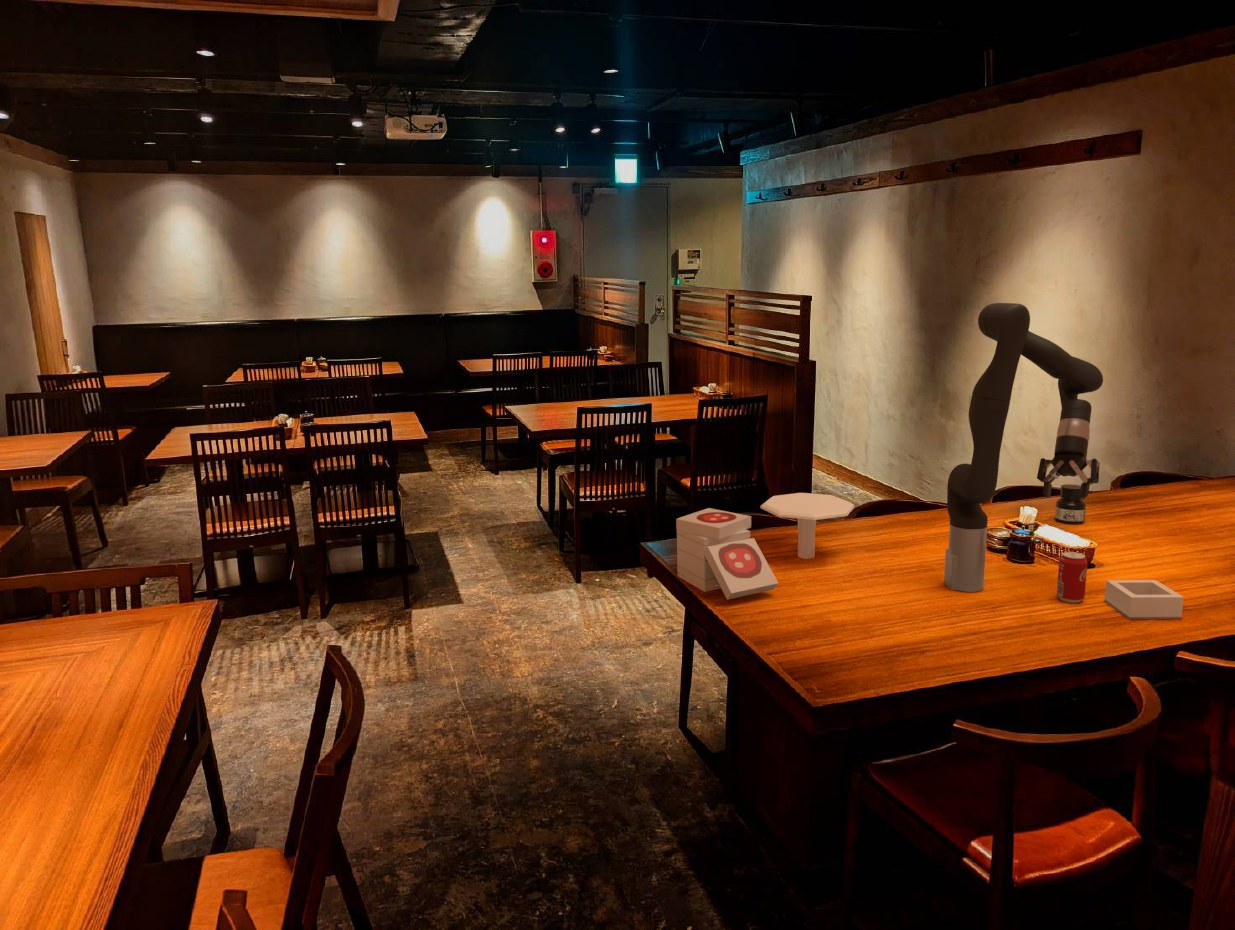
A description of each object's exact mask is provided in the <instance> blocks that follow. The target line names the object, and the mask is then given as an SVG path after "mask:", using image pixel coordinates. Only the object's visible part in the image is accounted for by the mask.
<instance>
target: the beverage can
mask: <svg viewBox="0 0 1235 930" xmlns="http://www.w3.org/2000/svg"><path fill="white" fill-rule="evenodd" d="M1087 573H1088V560H1087V559H1086V555H1085V554H1083V553H1080V552H1075V551H1065V552H1063V553H1062V556H1060V558H1059V561H1058V574H1057V582H1056V583H1057V585H1056V596H1057V597H1058V598H1059V599H1060V600H1061V601H1062V602H1065V603H1068V604H1069V603H1070V604H1077V603H1081V601H1083V600H1084V599H1085V595H1086V585H1087V584H1086V583H1087Z"/></svg>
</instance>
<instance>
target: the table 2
mask: <svg viewBox="0 0 1235 930" xmlns="http://www.w3.org/2000/svg"><path fill="white" fill-rule="evenodd" d="M854 508H855V504H853V503H852V502H851V501H848V500H845V499H843V498H841V497H838V496H835V495H831V494H821V493H819V494H818V493H811V492H810V493H808V492H796V493H789V494H788V493H787V494H779V495H778V494H777V495H773V496H772V497H770V498H769V499H767V500H766V501H765V502H764V503H762V504H761V505H760V509H761V510H763V511H766V512H767V513H770V514H772V515H774V516H776V517H780V518H788V519H789V518H790V519H797V532H798V539H797V557H798V558H800V559H806V560H810V559H814V558H815V556H816V554H815V553H816V537H815V536H816V529H817V528H816V526H817V520H824V519H825V520H826V519H832V518H833V519H834V518H840V517H847V516H849V514H850V513H851V512H852V511H853V510H854ZM799 553H800V554H801V555H800V554H799ZM813 554H814V555H813ZM806 555H807V556H806ZM808 555H809V556H808Z"/></svg>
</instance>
